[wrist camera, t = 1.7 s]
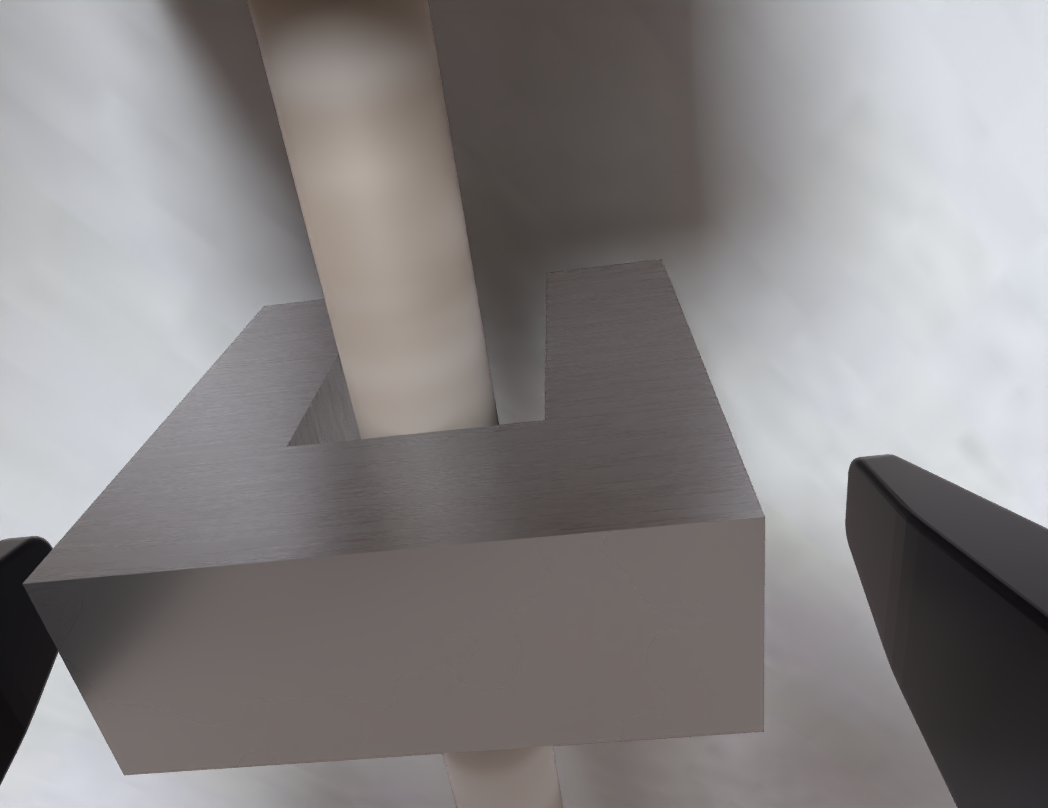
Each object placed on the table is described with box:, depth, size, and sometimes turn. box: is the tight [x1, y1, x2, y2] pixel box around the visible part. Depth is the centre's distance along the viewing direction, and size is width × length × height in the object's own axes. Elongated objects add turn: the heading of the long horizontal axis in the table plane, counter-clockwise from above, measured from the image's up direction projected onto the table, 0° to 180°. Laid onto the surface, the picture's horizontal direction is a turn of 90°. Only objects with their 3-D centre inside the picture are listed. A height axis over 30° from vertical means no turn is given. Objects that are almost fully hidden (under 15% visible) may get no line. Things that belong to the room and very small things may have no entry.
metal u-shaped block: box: [23, 259, 765, 775], centre depth 10 cm, size 6×2×7 cm, turn 97°
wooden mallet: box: [247, 0, 563, 808], centre depth 10 cm, size 18×8×8 cm, turn 7°
